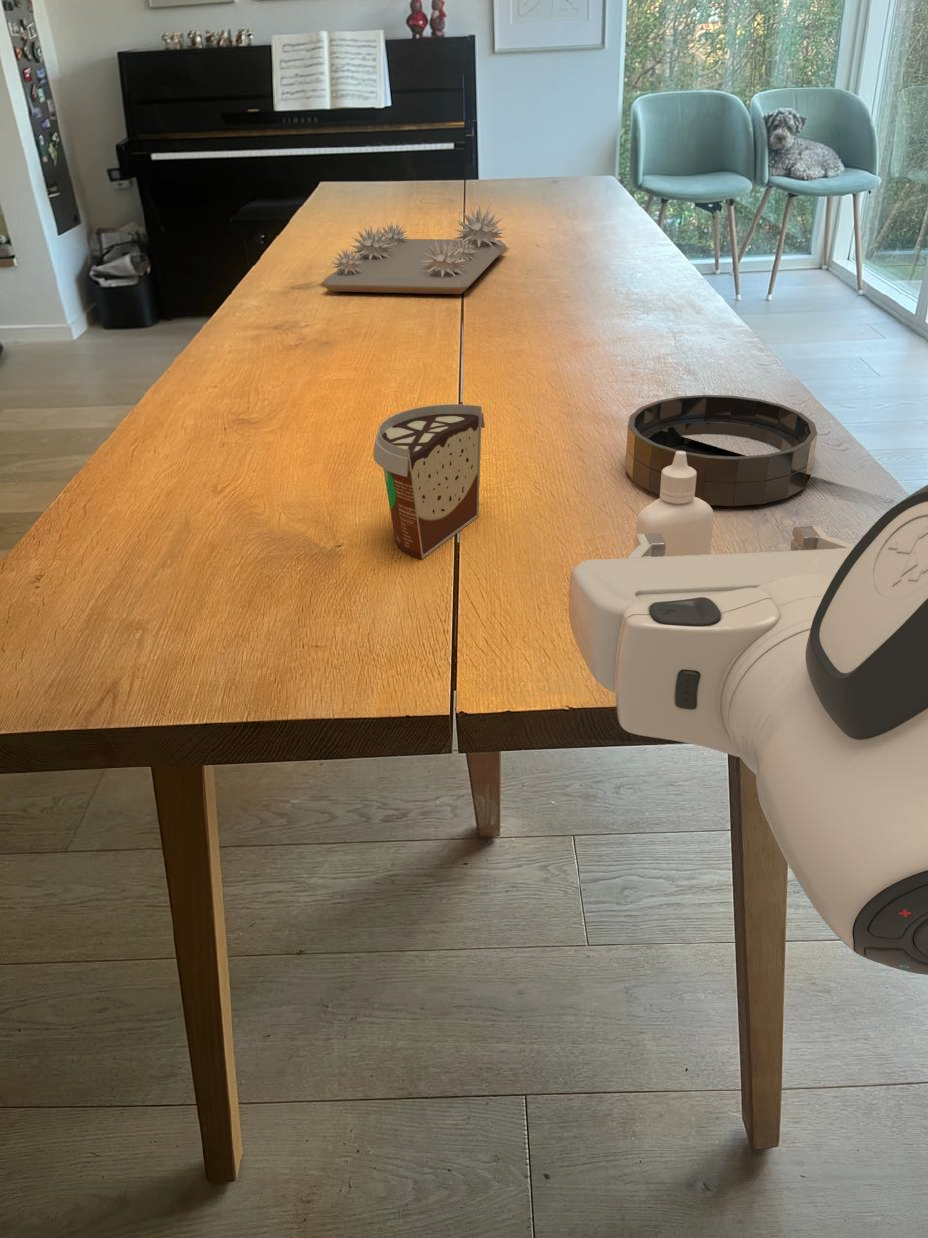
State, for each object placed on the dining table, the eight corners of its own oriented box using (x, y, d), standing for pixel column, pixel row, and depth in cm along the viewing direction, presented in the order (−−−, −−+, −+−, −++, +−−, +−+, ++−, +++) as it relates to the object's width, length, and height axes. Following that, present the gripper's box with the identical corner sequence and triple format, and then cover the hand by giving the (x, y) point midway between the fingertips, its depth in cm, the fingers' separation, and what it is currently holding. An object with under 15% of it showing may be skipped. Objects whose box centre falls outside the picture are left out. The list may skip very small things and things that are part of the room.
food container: (430, 498, 93) (424, 394, 87) (486, 510, 90) (484, 404, 85) (351, 551, 84) (340, 439, 78) (412, 567, 81) (404, 451, 76)
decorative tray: (382, 254, 194) (378, 199, 189) (511, 255, 188) (511, 199, 183) (320, 295, 165) (314, 232, 160) (471, 299, 159) (469, 234, 154)
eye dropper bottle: (629, 586, 77) (638, 440, 71) (702, 588, 76) (718, 441, 70) (631, 615, 73) (641, 464, 67) (708, 617, 73) (725, 465, 66)
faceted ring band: (843, 472, 95) (852, 422, 92) (739, 528, 85) (746, 474, 82) (695, 429, 106) (700, 383, 103) (589, 474, 96) (591, 425, 94)
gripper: (1038, 602, 45) (908, 484, 57) (595, 623, 45) (557, 499, 57) (1003, 713, 48) (887, 579, 60) (589, 733, 48) (555, 594, 60)
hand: (725, 540), depth 59 cm, fingers open, 8 cm apart
